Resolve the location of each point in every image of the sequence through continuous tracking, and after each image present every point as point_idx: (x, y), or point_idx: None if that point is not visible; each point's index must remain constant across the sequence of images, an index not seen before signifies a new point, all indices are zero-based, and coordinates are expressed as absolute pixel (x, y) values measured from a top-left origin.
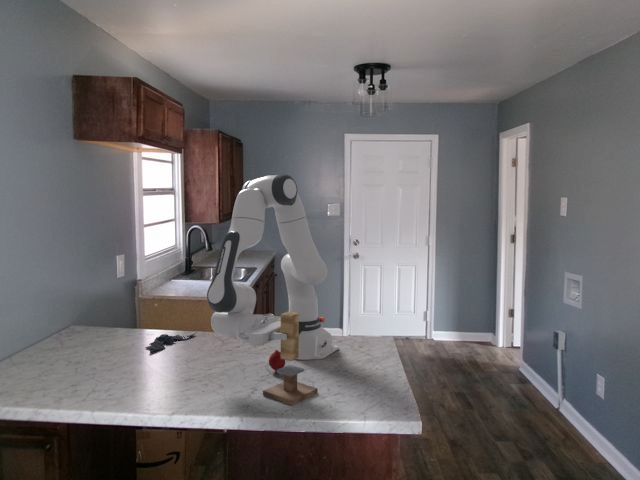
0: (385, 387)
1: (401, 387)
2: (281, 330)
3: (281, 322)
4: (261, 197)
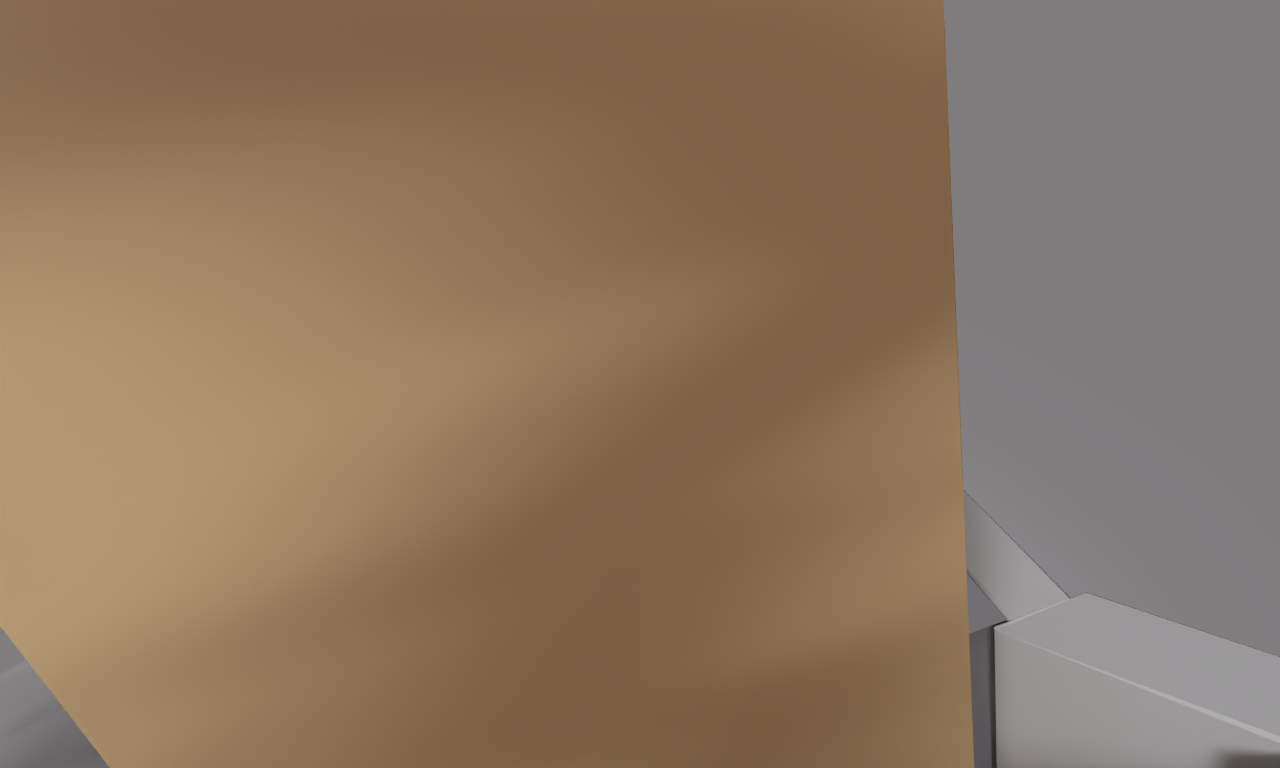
0: (41, 757)
1: (3, 689)
2: (945, 695)
3: (930, 337)
4: None
